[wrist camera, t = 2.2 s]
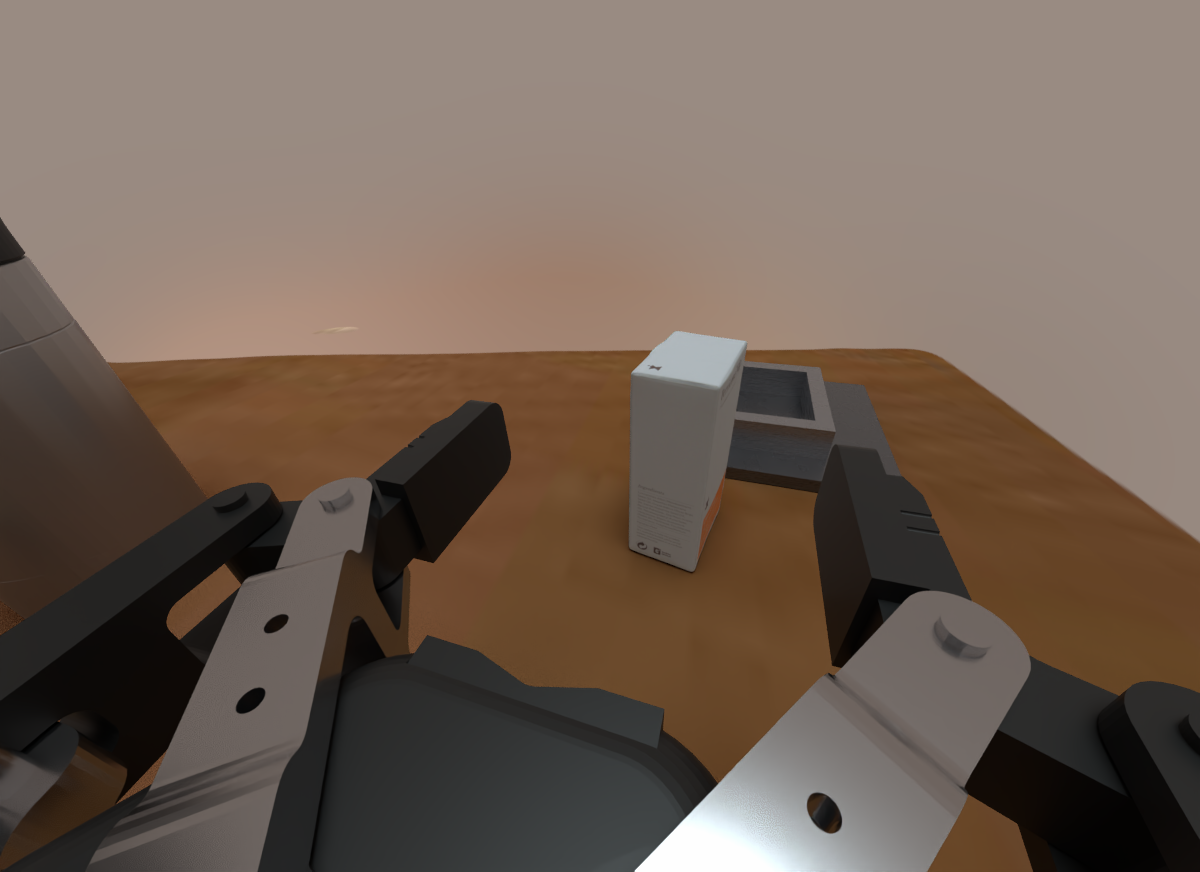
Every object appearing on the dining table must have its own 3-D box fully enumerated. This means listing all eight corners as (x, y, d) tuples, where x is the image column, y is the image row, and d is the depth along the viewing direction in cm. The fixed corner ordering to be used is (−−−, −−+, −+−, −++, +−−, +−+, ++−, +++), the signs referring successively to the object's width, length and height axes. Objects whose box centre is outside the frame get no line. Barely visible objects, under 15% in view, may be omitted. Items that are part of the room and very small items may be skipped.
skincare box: (695, 576, 24) (720, 388, 17) (627, 550, 26) (626, 371, 19) (722, 508, 29) (750, 338, 22) (662, 491, 30) (671, 328, 24)
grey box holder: (638, 463, 33) (638, 425, 31) (673, 375, 46) (675, 345, 44) (903, 506, 28) (924, 464, 26) (860, 394, 41) (872, 360, 39)
